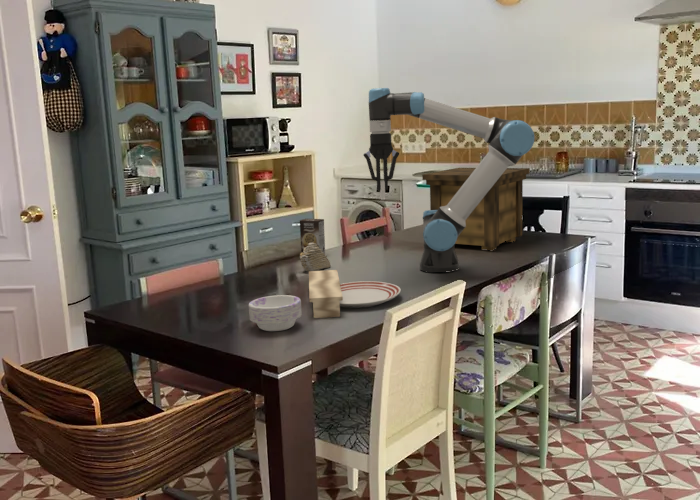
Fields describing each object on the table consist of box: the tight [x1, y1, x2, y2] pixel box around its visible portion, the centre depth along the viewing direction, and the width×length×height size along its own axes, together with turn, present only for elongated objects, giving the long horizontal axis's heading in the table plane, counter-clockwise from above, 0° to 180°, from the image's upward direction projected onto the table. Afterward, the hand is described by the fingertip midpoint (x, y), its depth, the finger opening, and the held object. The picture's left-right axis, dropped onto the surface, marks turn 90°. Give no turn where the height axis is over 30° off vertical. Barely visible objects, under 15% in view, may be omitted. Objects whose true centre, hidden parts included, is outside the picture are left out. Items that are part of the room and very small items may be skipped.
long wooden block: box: [308, 269, 343, 319], centre depth 227 cm, size 10×37×6 cm, turn 4°
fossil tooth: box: [299, 243, 331, 273], centre depth 274 cm, size 12×6×15 cm
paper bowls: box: [248, 294, 303, 332], centre depth 202 cm, size 15×15×8 cm
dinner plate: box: [339, 280, 401, 308], centre depth 228 cm, size 27×27×3 cm
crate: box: [421, 167, 531, 250], centre depth 310 cm, size 35×35×33 cm
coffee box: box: [299, 218, 326, 255], centre depth 301 cm, size 9×6×16 cm
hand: (382, 199), depth 250 cm, fingers closed
